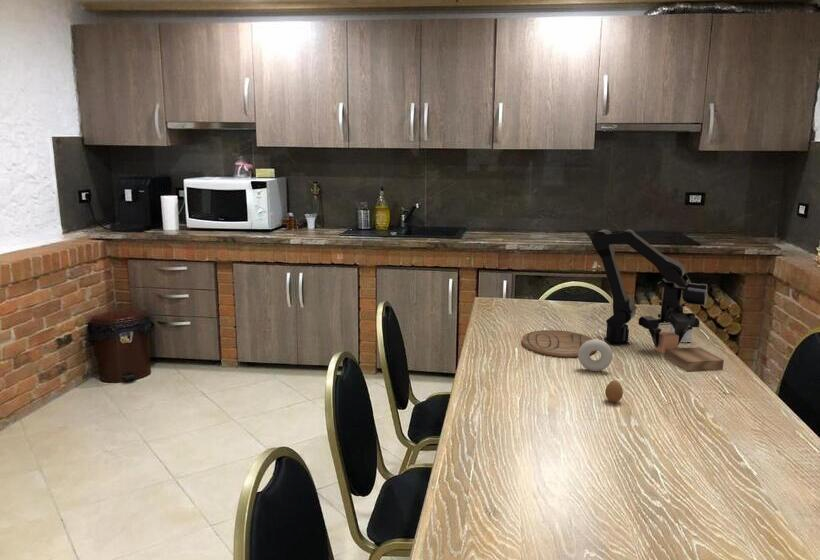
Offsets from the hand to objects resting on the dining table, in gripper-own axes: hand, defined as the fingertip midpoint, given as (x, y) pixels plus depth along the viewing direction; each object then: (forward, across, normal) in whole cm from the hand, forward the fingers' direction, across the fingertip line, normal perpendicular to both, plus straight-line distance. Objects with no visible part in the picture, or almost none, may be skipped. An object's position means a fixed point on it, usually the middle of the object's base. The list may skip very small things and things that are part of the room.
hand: (666, 346), depth 210 cm
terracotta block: (+2, 0, 0) cm, 2 cm away
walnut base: (+2, +2, -12) cm, 12 cm away
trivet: (+2, -33, +10) cm, 35 cm away
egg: (+2, -37, -36) cm, 52 cm away
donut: (+2, -32, -14) cm, 35 cm away
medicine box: (+2, +12, +11) cm, 16 cm away
